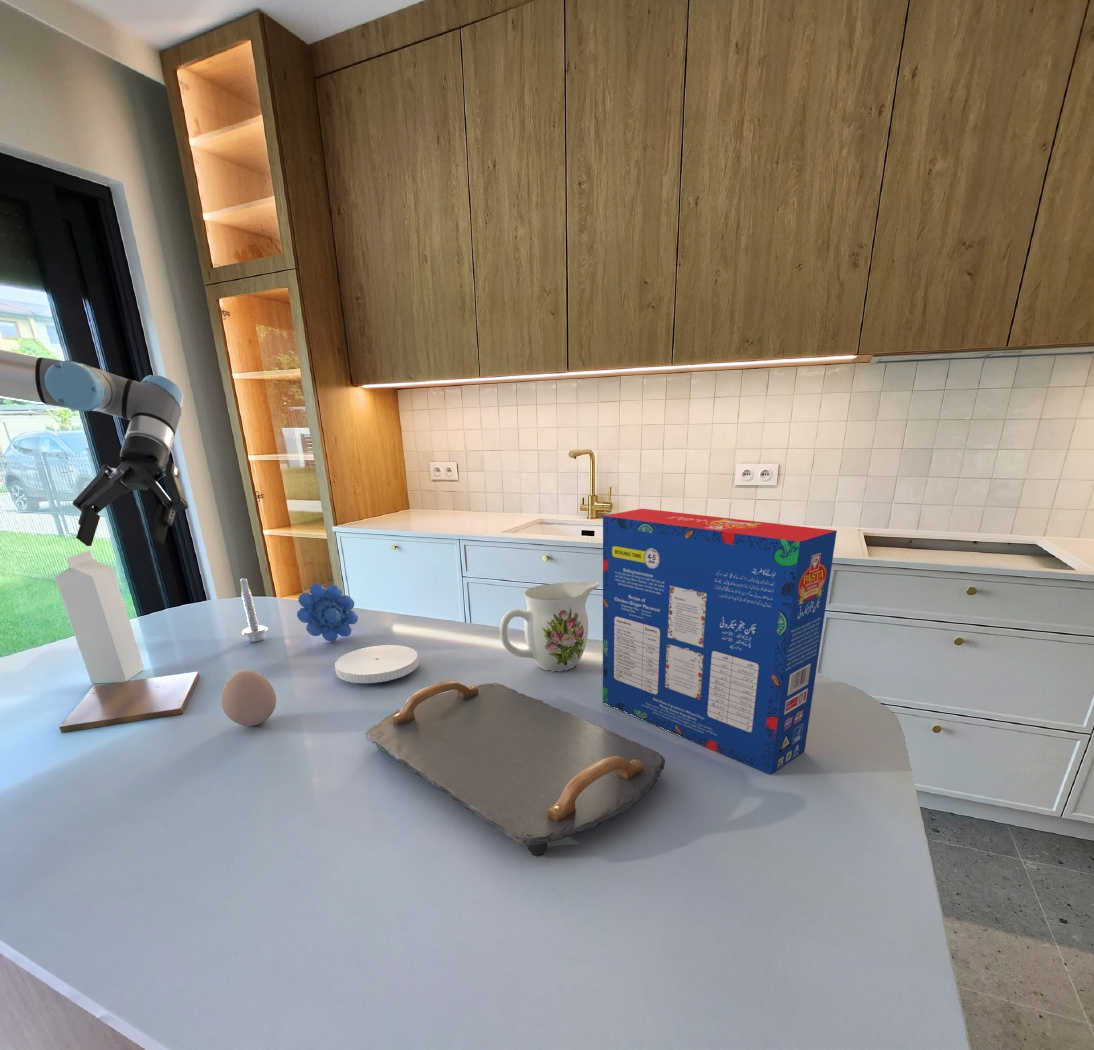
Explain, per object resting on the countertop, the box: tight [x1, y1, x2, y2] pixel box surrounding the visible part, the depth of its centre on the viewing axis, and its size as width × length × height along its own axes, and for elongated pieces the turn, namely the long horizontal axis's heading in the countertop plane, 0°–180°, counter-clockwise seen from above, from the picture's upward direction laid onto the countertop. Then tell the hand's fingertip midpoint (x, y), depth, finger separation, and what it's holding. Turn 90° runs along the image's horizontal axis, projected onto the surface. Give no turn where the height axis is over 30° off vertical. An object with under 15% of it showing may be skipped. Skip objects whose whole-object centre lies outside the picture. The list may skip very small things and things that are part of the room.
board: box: [59, 670, 200, 734], centre depth 100 cm, size 16×16×1 cm
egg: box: [220, 669, 277, 727], centre depth 90 cm, size 7×7×8 cm
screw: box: [239, 577, 269, 643], centre depth 124 cm, size 13×5×5 cm
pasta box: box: [602, 508, 838, 776], centre depth 81 cm, size 28×8×28 cm, turn 41°
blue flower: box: [296, 583, 359, 642], centre depth 122 cm, size 12×7×12 cm, turn 128°
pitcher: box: [499, 581, 600, 672], centre depth 106 cm, size 11×18×14 cm, turn 110°
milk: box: [54, 550, 145, 685], centre depth 107 cm, size 6×6×22 cm
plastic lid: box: [334, 644, 420, 684], centre depth 108 cm, size 14×14×2 cm
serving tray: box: [364, 680, 666, 857], centre depth 78 cm, size 39×23×6 cm, turn 43°
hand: (120, 540), depth 112 cm, fingers open, 13 cm apart
